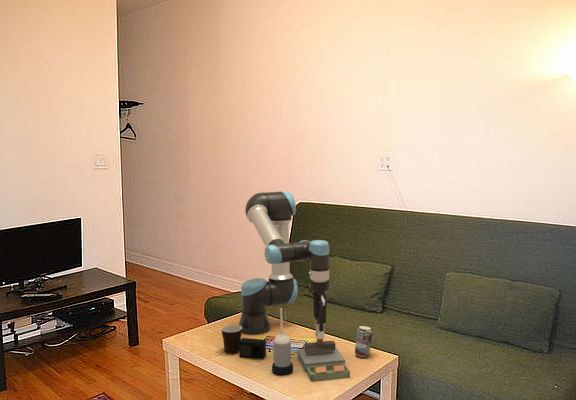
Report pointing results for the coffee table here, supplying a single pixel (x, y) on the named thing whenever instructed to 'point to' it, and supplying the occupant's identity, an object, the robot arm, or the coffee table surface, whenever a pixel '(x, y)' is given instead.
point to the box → (328, 372)
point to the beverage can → (363, 341)
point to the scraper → (319, 346)
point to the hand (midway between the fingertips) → (319, 337)
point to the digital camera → (252, 348)
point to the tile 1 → (320, 370)
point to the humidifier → (282, 353)
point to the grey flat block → (319, 358)
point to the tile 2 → (338, 368)
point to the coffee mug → (231, 338)
